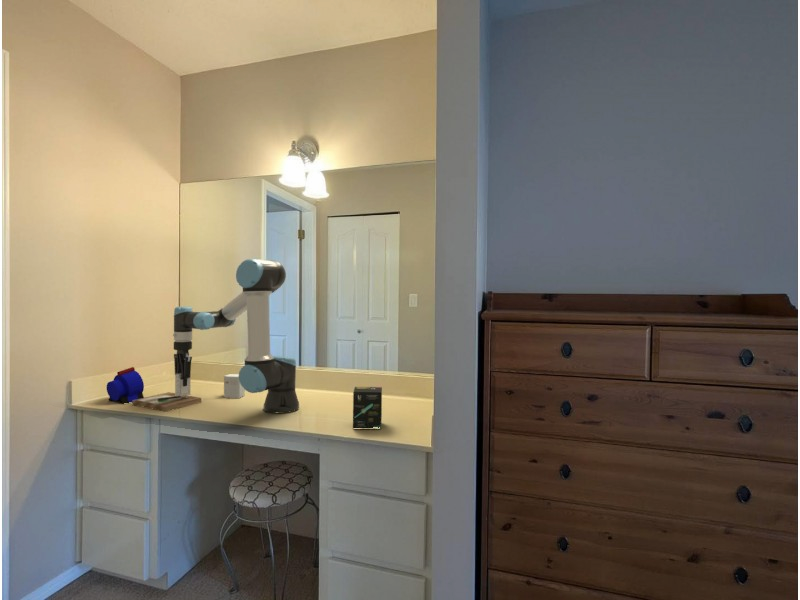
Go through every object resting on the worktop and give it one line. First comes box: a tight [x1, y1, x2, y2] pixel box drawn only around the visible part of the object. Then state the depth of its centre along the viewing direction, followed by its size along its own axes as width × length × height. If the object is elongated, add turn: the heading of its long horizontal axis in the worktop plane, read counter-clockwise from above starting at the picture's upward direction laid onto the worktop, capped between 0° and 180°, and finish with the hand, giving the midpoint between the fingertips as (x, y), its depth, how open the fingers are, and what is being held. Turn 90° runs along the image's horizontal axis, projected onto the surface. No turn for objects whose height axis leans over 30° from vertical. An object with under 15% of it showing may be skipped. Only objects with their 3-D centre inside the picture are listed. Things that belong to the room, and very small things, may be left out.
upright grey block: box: [158, 372, 192, 400], centre depth 203 cm, size 13×2×11 cm, turn 127°
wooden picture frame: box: [132, 391, 202, 412], centre depth 204 cm, size 22×18×2 cm
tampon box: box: [352, 386, 383, 429], centre depth 176 cm, size 11×9×15 cm
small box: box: [223, 373, 246, 399], centre depth 219 cm, size 8×6×10 cm
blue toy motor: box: [106, 366, 145, 405], centre depth 207 cm, size 12×12×15 cm
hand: (182, 392), depth 205 cm, fingers closed on upright grey block, 3 cm apart
